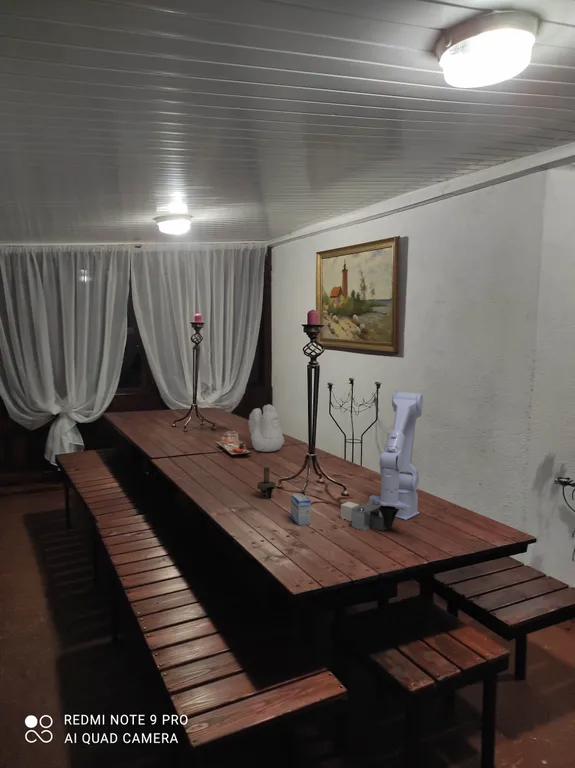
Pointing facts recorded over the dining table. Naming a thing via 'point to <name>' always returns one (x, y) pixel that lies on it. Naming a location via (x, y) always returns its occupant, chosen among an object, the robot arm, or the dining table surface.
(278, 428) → the white lumpy sculpture
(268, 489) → the industrial component
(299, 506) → the medicine box
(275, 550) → the dining table surface
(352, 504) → the plug
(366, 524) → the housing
